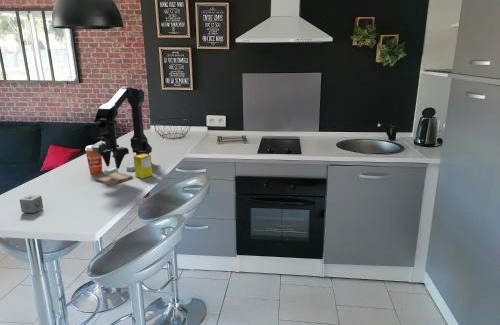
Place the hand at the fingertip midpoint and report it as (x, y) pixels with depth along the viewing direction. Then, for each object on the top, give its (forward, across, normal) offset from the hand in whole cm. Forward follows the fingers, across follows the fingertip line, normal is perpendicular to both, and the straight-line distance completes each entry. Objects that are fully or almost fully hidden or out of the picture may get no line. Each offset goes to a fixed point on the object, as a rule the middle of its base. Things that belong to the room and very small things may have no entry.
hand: (112, 167), depth 169 cm
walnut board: (+6, 0, 0) cm, 6 cm away
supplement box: (+6, +8, +11) cm, 15 cm away
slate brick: (+6, -5, +15) cm, 17 cm away
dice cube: (+7, +5, -40) cm, 41 cm away
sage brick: (+6, -9, +5) cm, 12 cm away
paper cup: (+6, -17, +2) cm, 18 cm away
